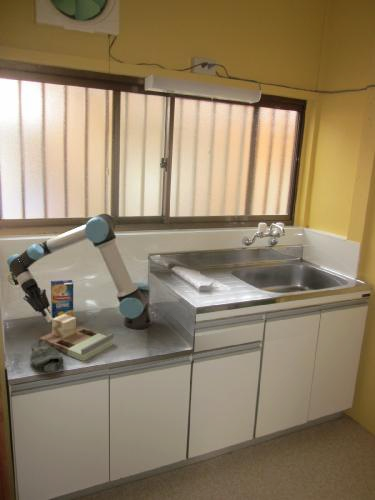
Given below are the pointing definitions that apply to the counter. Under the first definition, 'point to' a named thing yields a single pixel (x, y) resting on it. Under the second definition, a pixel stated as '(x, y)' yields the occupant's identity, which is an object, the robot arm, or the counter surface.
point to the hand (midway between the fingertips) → (50, 320)
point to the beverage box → (61, 298)
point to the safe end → (90, 346)
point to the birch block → (63, 326)
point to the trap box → (68, 339)
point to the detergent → (45, 356)
